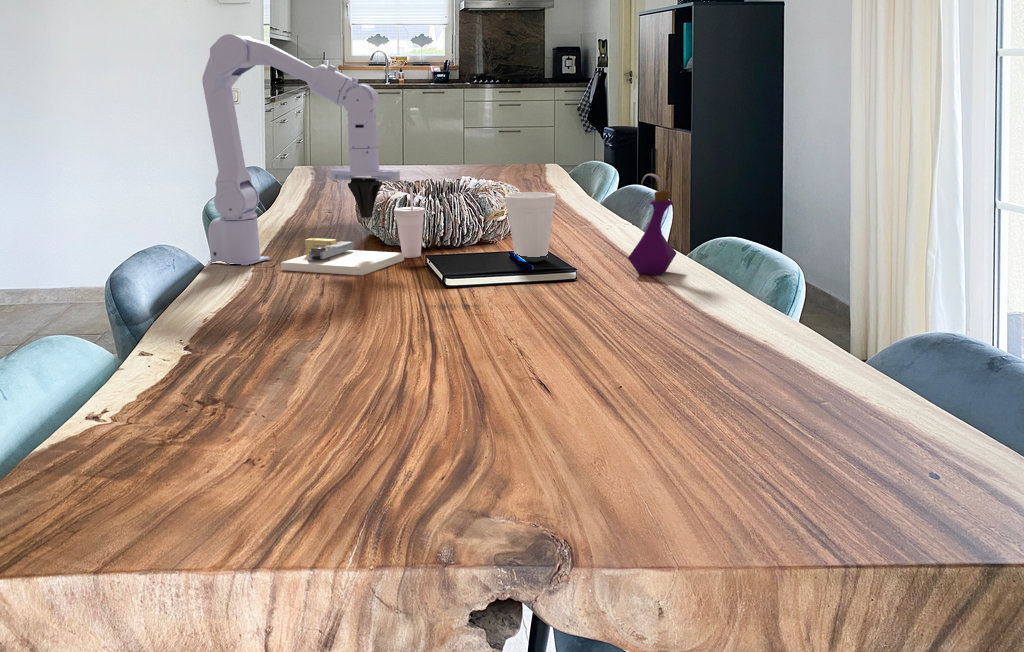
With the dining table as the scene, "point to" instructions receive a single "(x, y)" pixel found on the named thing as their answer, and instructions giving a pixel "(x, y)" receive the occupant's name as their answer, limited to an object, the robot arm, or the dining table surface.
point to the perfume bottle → (654, 239)
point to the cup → (530, 221)
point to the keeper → (317, 243)
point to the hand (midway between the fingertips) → (366, 217)
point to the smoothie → (410, 228)
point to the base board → (345, 262)
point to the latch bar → (330, 250)
